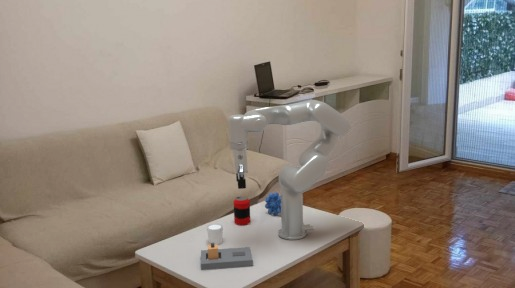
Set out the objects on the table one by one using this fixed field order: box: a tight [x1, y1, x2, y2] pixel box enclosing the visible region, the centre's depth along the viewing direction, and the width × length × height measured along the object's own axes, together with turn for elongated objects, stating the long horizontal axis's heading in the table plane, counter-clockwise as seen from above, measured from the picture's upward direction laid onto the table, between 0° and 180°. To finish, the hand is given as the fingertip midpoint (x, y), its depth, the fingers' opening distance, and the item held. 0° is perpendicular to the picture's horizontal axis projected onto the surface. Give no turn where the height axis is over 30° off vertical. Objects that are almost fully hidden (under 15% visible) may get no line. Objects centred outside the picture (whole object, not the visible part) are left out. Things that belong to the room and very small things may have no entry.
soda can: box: [233, 196, 251, 226], centre depth 235 cm, size 8×8×12 cm
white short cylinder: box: [206, 223, 224, 245], centre depth 215 cm, size 7×7×7 cm
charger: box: [207, 243, 220, 260], centre depth 196 cm, size 4×4×8 cm
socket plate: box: [200, 246, 254, 271], centre depth 197 cm, size 20×12×3 cm, turn 96°
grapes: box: [264, 192, 281, 216], centre depth 243 cm, size 12×7×12 cm, turn 51°
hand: (241, 184), depth 208 cm, fingers open, 9 cm apart
